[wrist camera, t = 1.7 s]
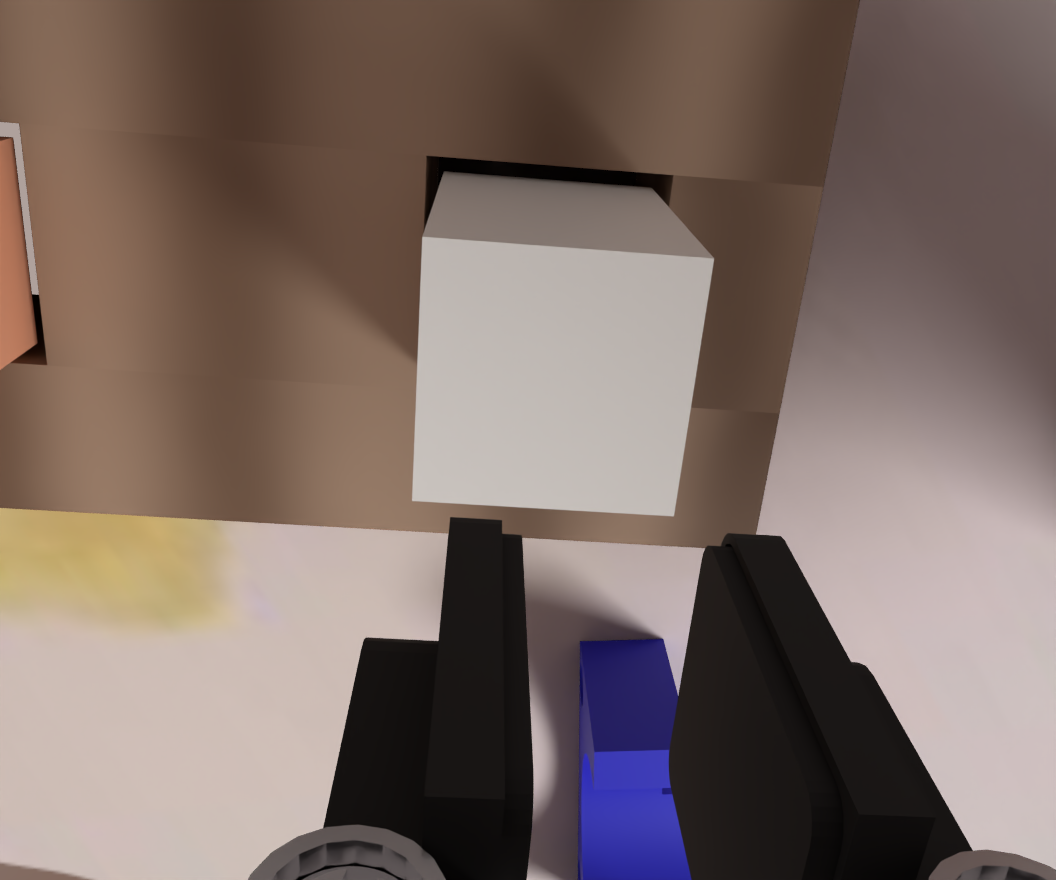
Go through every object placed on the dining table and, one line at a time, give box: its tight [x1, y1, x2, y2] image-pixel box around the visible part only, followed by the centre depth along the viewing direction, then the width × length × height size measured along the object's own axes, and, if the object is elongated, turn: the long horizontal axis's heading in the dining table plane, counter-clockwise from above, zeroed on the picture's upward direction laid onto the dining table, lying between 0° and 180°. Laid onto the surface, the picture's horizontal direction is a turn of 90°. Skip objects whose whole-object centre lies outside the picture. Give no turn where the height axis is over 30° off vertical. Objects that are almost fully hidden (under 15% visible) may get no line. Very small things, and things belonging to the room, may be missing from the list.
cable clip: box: [578, 639, 691, 880], centre depth 35 cm, size 12×4×6 cm, turn 1°
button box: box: [0, 0, 860, 548], centre depth 27 cm, size 28×14×6 cm, turn 85°
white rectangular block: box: [412, 171, 714, 516], centre depth 21 cm, size 5×5×8 cm
